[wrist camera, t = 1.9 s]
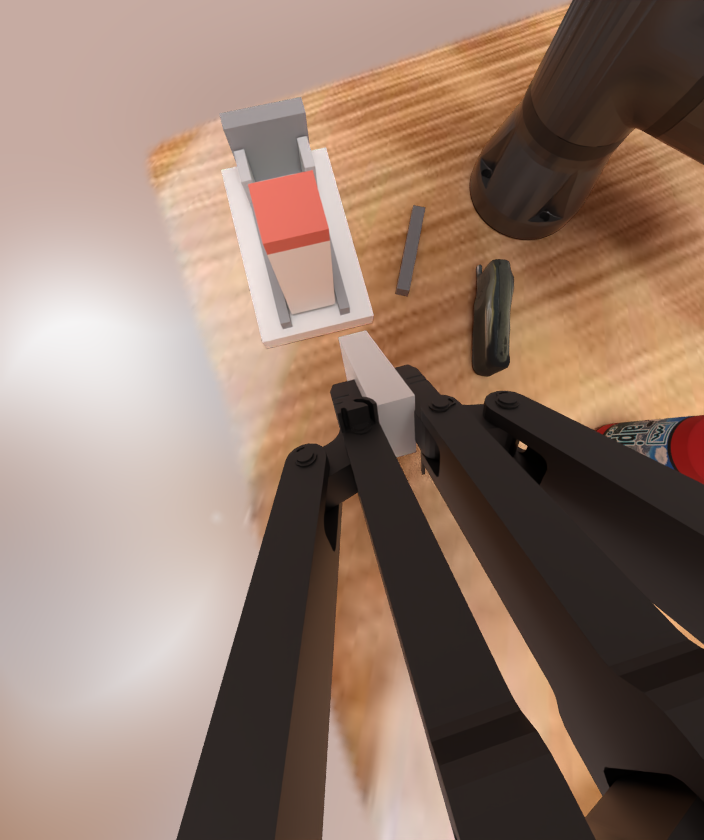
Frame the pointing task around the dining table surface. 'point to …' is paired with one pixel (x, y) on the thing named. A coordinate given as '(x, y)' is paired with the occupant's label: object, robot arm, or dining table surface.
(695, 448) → the beverage can
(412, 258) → the gray rectangular bar
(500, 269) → the mobile phone
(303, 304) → the toggle
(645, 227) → the dining table surface
